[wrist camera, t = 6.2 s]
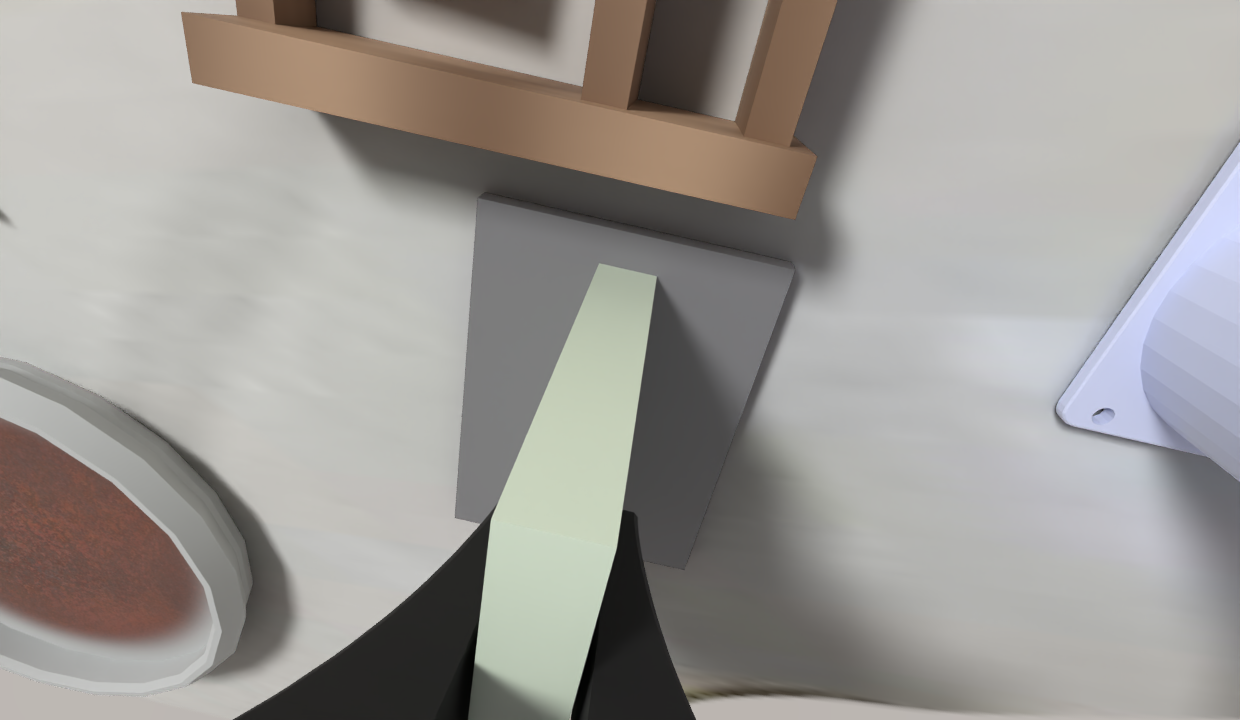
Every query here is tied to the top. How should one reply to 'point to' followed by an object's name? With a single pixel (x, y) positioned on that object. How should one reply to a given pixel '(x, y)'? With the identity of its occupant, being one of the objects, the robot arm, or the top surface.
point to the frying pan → (108, 547)
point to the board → (563, 511)
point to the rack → (540, 97)
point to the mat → (673, 367)
